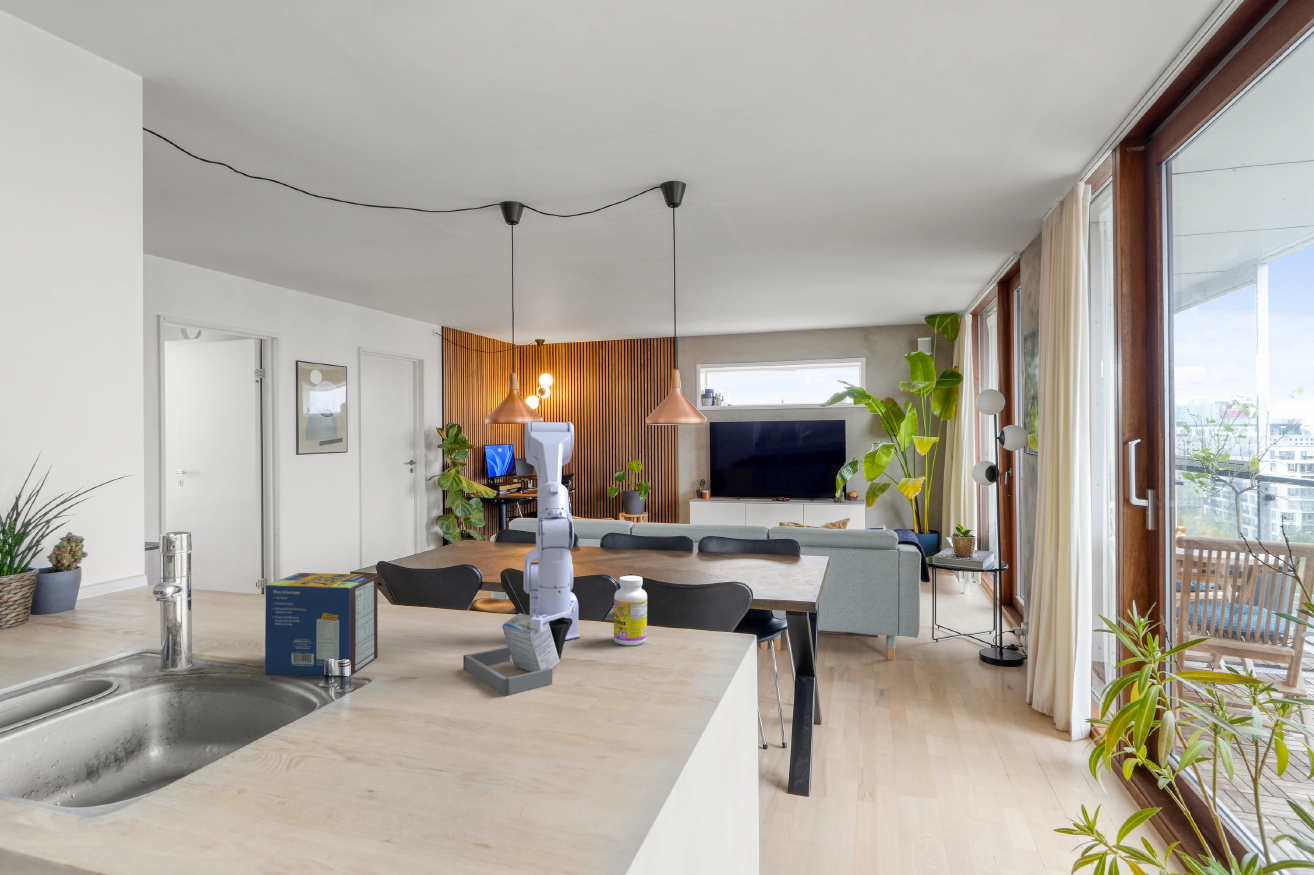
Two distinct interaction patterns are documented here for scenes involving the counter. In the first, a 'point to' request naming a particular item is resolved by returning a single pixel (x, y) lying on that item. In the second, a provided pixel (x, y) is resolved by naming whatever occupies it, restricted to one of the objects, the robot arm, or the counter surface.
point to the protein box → (320, 622)
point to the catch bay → (506, 686)
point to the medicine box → (530, 644)
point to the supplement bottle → (630, 612)
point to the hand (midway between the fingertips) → (553, 660)
